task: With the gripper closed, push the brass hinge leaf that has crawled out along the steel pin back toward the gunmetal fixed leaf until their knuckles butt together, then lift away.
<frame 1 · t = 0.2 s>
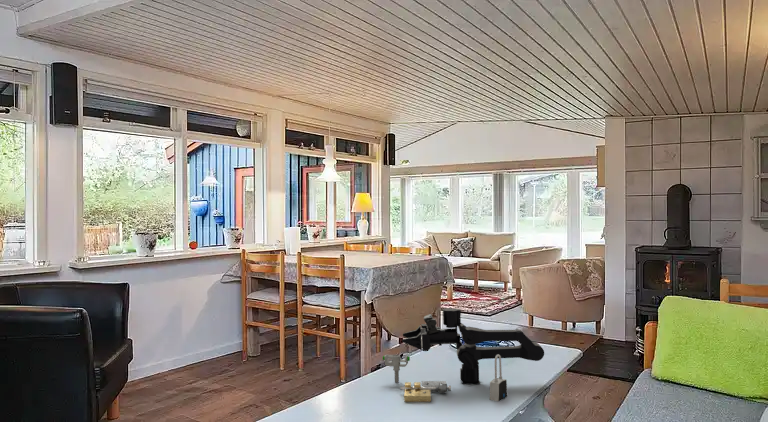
hand: (402, 337, 221), 17 cm above the table, tool horizontal, fingers open, 9 cm apart
padlock: (498, 398, 200), on the table
loose leaf: (417, 391, 203), point 2 cm above the table, slide at 6.0 cm
fixed leaf: (434, 393, 206), on the table
mechanical component: (396, 382, 221), on the table
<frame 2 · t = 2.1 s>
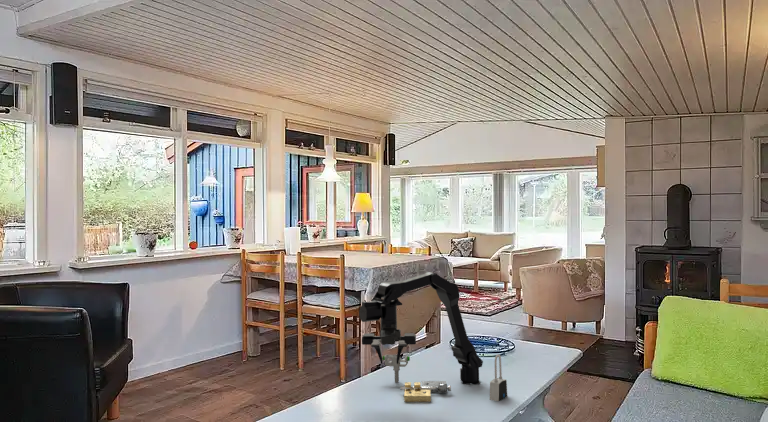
hand: (389, 363, 202), 12 cm above the table, tool pointing down, fingers open, 5 cm apart
nothing on the table moved.
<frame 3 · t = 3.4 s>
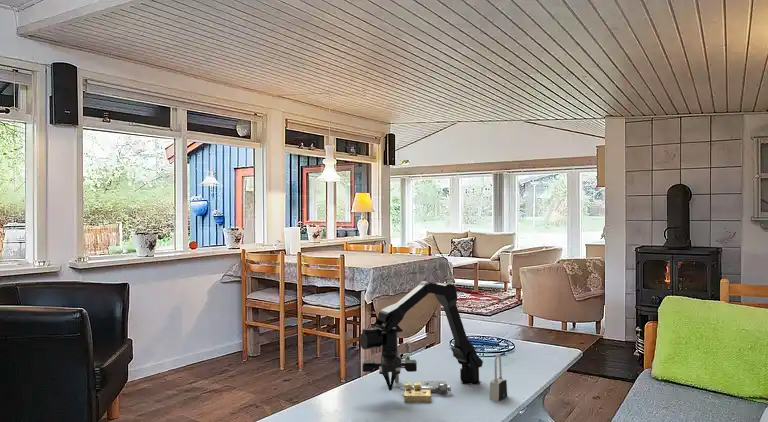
hand: (390, 390, 202), 3 cm above the table, tool pointing down, fingers closed
nothing on the table moved.
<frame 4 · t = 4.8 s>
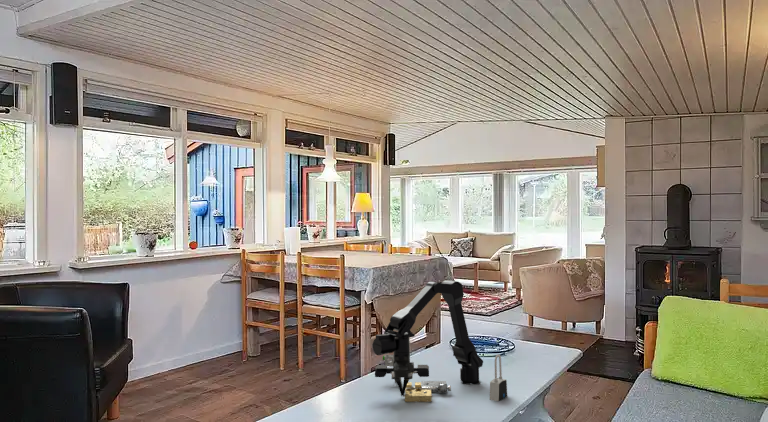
hand: (402, 395, 202), 1 cm above the table, tool pointing down, fingers closed
loose leaf: (418, 391, 203), point 2 cm above the table, slide at 5.7 cm, touching gripper
everything else where it was.
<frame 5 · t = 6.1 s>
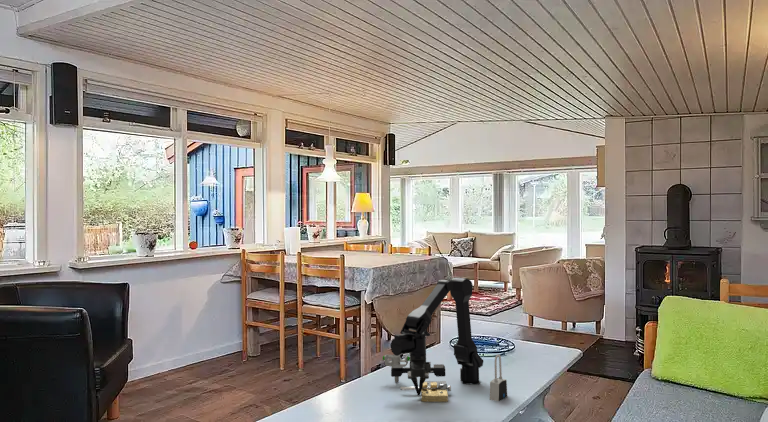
hand: (418, 395, 202), 1 cm above the table, tool pointing down, fingers closed
loose leaf: (434, 391, 202), point 2 cm above the table, slide at 0.2 cm, touching gripper
everything else where it was.
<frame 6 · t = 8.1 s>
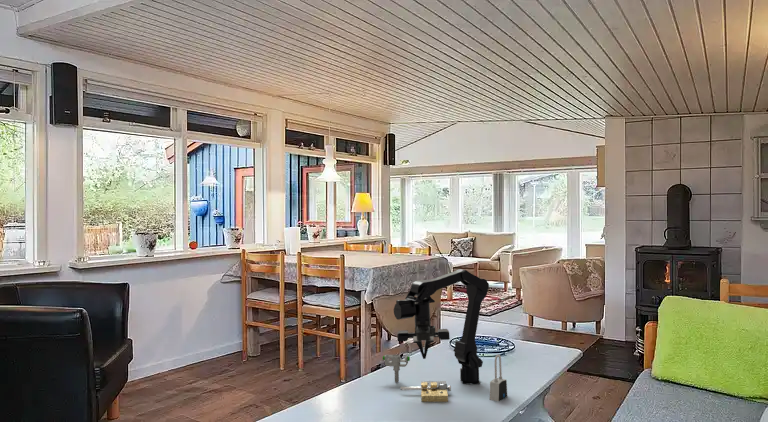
hand: (424, 358, 210), 11 cm above the table, tool pointing down, fingers closed
loose leaf: (434, 391, 202), point 2 cm above the table, slide at 0.1 cm
everything else where it was.
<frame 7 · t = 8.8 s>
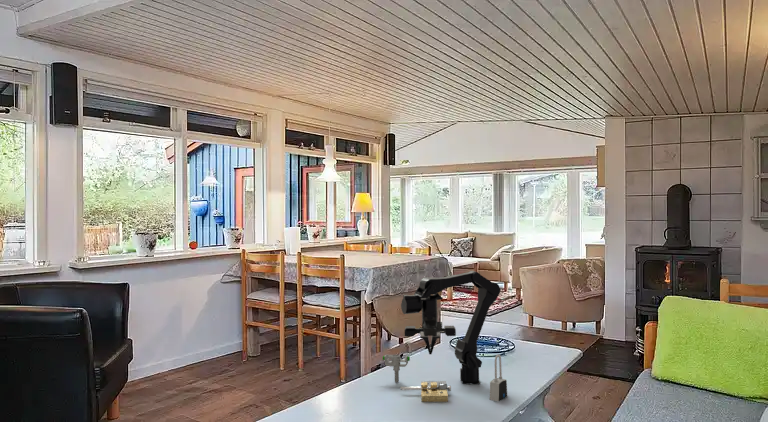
hand: (430, 354, 214), 12 cm above the table, tool pointing down, fingers closed
nothing on the table moved.
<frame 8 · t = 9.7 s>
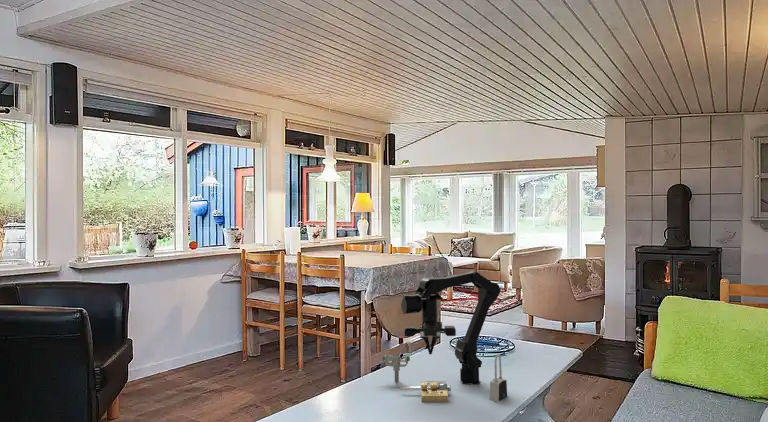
hand: (430, 354, 214), 12 cm above the table, tool pointing down, fingers closed
nothing on the table moved.
at the end: loose leaf slide at 0.1 cm; loose leaf touching nothing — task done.
